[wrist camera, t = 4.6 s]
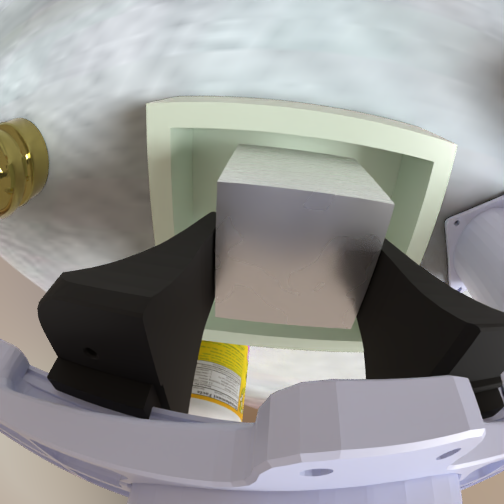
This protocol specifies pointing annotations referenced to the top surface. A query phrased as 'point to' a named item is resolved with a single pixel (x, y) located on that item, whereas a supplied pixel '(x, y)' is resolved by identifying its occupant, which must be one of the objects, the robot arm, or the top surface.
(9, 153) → the brass calibration weight
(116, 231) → the top surface
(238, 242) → the steel block
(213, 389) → the supplement bottle
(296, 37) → the top surface
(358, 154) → the tote
